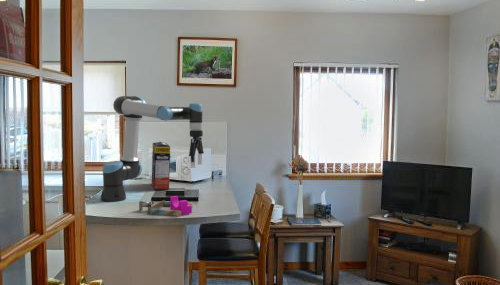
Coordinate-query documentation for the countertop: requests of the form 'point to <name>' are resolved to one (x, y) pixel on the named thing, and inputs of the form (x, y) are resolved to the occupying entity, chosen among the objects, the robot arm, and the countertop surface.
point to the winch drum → (145, 205)
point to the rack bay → (156, 210)
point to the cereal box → (160, 166)
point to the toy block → (180, 205)
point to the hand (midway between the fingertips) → (196, 166)
